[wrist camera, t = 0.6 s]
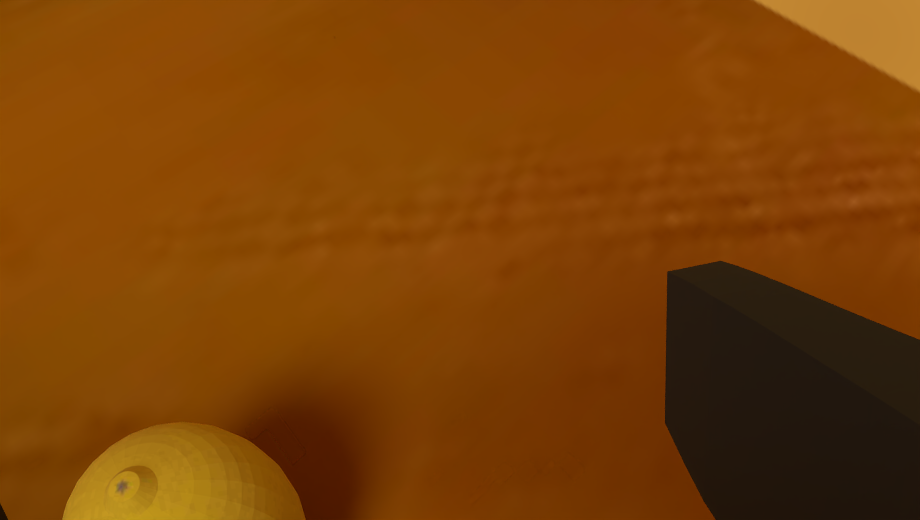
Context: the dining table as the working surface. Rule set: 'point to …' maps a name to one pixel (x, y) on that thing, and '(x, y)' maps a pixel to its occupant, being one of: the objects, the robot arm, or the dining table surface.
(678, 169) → the dining table surface
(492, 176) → the dining table surface
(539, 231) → the dining table surface
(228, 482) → the lemon
